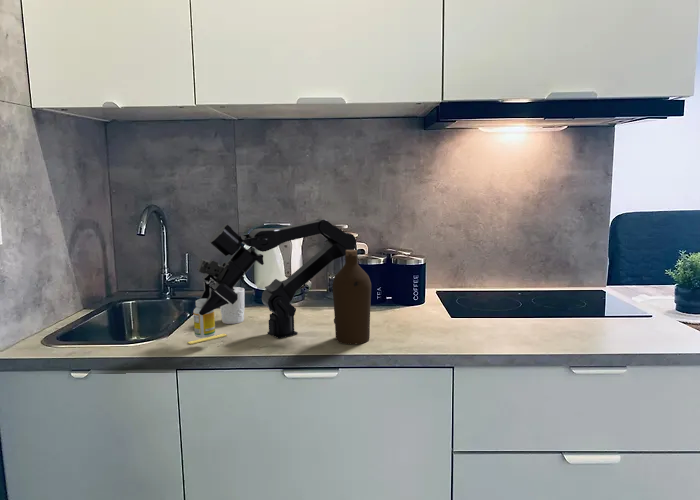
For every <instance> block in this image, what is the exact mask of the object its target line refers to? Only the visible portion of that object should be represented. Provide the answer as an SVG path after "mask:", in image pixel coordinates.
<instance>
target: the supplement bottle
mask: <svg viewBox="0 0 700 500" xmlns="http://www.w3.org/2000/svg"><path fill="white" fill-rule="evenodd" d="M206 300H207V299H200V298H199V299H197V300H196V299H195V307H196V308H194V309H193V312H192V313H193V325H194V329H193V330H194V336H195V337H196V338H199V339H203V338H207V337H211V336H215V335H216V324H215V323H216V321H215V309H214V310H212V311H210V312H208V313H206V314H204V315H200V314H199V311H200V310H201V308H202V307H203V305H204V304H205V302H206Z"/></svg>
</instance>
